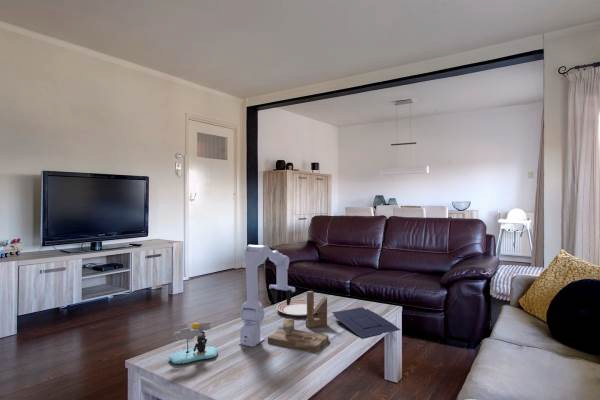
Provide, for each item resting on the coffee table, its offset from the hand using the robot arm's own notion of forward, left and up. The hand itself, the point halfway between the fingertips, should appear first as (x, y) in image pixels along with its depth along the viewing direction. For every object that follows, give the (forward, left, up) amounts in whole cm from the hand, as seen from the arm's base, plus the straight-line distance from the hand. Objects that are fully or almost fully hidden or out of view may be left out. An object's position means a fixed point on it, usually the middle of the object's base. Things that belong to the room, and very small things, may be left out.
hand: (281, 303), depth 197 cm
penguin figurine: (-53, +12, -10) cm, 55 cm away
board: (-19, -19, -10) cm, 29 cm away
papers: (+16, -39, -11) cm, 44 cm away
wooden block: (+4, -18, -10) cm, 21 cm away
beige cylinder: (-19, -14, -8) cm, 25 cm away
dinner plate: (+22, 0, -11) cm, 24 cm away
